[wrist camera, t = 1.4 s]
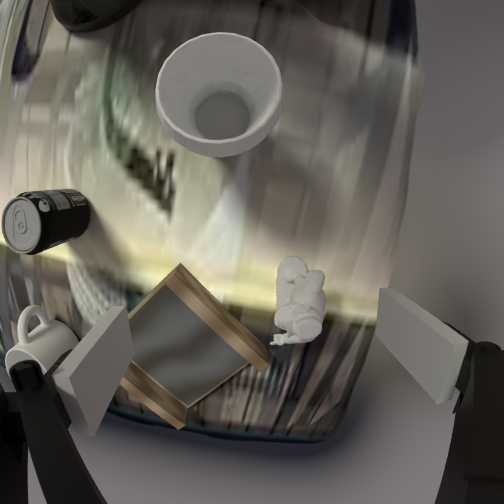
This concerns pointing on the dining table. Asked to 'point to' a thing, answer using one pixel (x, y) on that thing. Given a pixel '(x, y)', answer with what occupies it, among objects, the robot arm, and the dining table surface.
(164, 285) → the wooden tray
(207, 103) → the cup
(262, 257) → the dining table surface
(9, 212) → the beverage can
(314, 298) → the figurine
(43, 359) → the mug
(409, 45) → the dining table surface
